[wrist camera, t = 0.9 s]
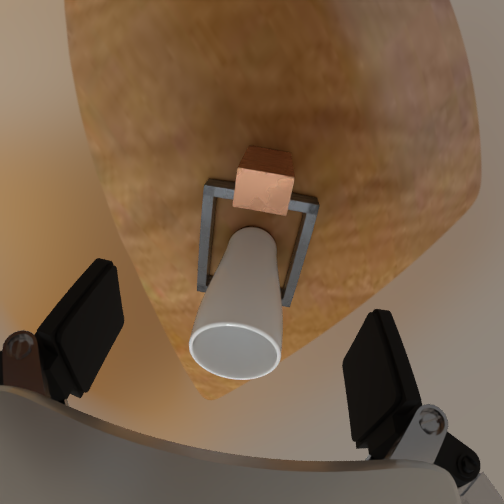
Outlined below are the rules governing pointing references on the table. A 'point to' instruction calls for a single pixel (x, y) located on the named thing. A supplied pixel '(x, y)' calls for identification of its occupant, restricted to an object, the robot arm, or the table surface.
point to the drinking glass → (241, 310)
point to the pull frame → (259, 207)
